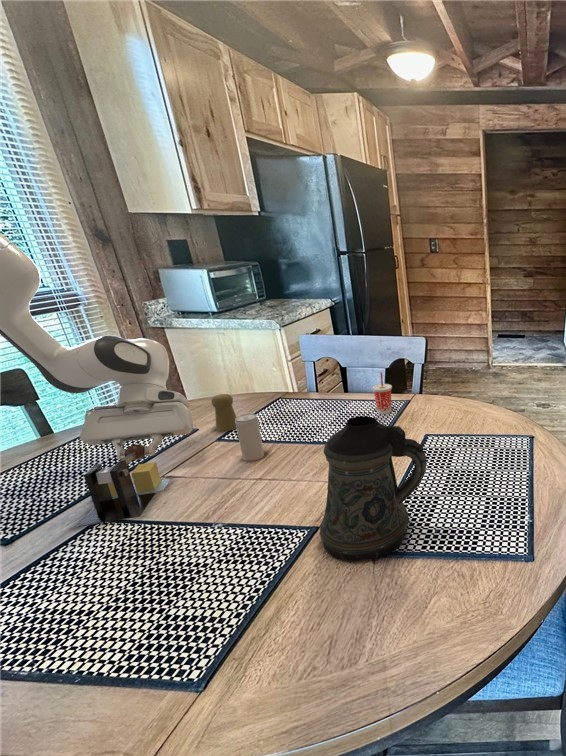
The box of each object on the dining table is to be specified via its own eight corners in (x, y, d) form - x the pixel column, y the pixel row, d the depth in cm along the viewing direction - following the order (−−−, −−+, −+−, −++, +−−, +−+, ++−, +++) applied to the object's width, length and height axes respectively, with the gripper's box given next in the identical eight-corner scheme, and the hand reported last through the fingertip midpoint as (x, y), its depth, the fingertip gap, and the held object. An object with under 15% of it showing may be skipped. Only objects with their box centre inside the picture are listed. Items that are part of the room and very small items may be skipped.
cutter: (100, 504, 89) (84, 460, 85) (157, 495, 93) (145, 453, 89) (77, 531, 81) (59, 483, 78) (141, 520, 85) (126, 474, 81)
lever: (131, 457, 97) (128, 443, 96) (151, 455, 98) (147, 441, 98) (94, 487, 82) (90, 471, 82) (117, 484, 84) (113, 468, 83)
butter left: (104, 497, 90) (97, 477, 88) (113, 487, 93) (106, 468, 92) (123, 494, 91) (116, 475, 89) (131, 485, 94) (125, 466, 93)
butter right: (137, 492, 92) (130, 473, 90) (144, 483, 95) (138, 464, 94) (155, 490, 93) (149, 470, 91) (161, 480, 96) (156, 461, 95)
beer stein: (313, 527, 84) (295, 414, 76) (403, 496, 95) (397, 395, 87) (334, 579, 72) (317, 451, 64) (436, 537, 83) (432, 423, 75)
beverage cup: (396, 408, 143) (393, 370, 139) (389, 415, 137) (386, 375, 133) (379, 407, 144) (375, 369, 139) (371, 414, 138) (368, 374, 133)
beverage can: (261, 452, 112) (254, 412, 108) (267, 459, 109) (259, 417, 105) (241, 458, 109) (232, 416, 105) (246, 465, 106) (237, 422, 102)
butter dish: (95, 504, 89) (93, 500, 89) (106, 491, 93) (105, 487, 93) (164, 493, 93) (162, 490, 93) (171, 482, 98) (170, 478, 97)
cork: (244, 428, 125) (237, 394, 122) (222, 435, 120) (214, 400, 117) (234, 423, 128) (227, 390, 125) (212, 430, 123) (204, 395, 120)
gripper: (78, 401, 94) (68, 460, 89) (187, 392, 102) (184, 445, 96) (94, 412, 100) (85, 468, 94) (196, 402, 107) (194, 453, 102)
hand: (136, 456), depth 95 cm, fingers closed on lever, 3 cm apart
